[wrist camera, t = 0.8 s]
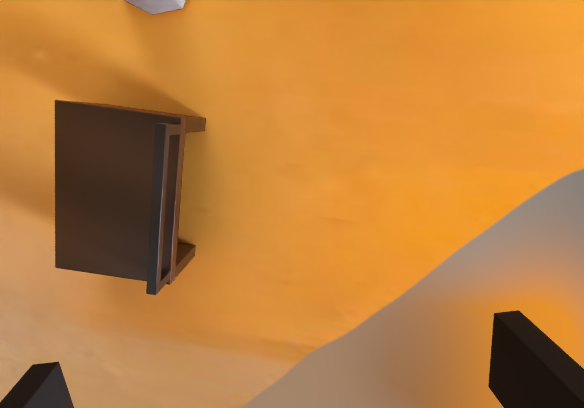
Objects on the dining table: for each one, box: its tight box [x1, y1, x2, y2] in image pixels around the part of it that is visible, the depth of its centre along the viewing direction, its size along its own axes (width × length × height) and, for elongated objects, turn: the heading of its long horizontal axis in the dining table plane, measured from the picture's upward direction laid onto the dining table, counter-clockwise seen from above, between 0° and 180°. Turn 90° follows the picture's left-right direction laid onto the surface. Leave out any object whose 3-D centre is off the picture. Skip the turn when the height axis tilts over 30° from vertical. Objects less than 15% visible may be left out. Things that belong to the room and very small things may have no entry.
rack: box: [55, 100, 206, 295], centre depth 33 cm, size 14×10×10 cm
